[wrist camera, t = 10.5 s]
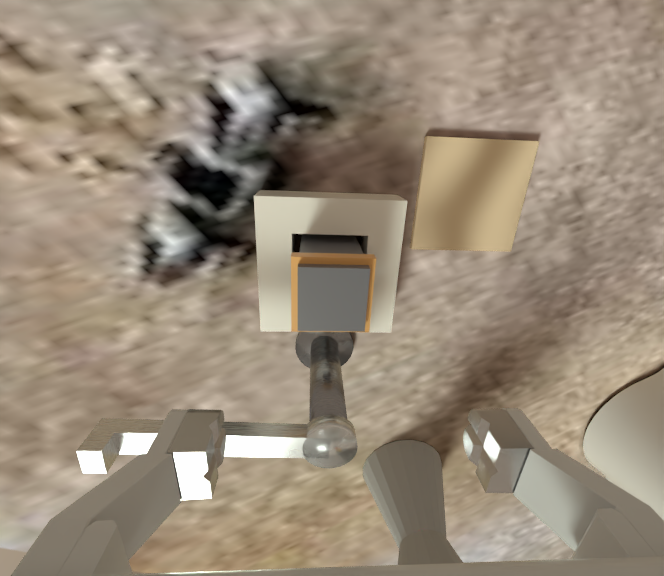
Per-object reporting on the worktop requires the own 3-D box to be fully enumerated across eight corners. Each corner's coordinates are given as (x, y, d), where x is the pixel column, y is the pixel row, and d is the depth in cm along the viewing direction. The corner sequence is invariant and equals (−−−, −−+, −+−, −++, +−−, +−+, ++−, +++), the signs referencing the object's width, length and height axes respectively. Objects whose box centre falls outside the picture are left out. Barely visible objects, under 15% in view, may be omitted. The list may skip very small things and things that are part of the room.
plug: (359, 228, 26) (378, 262, 18) (355, 285, 27) (370, 337, 20) (296, 226, 25) (290, 259, 18) (296, 284, 27) (291, 336, 20)
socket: (396, 194, 25) (407, 200, 22) (383, 314, 29) (390, 332, 26) (260, 189, 24) (253, 195, 21) (265, 312, 28) (260, 331, 25)
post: (354, 319, 29) (372, 397, 20) (350, 367, 31) (365, 458, 22) (295, 318, 28) (287, 398, 19) (295, 366, 30) (288, 459, 21)
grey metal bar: (358, 415, 20) (363, 446, 18) (352, 454, 21) (356, 487, 19) (99, 406, 19) (73, 439, 17) (108, 449, 20) (85, 483, 18)
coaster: (535, 141, 24) (539, 141, 23) (507, 249, 27) (510, 251, 26) (424, 136, 23) (427, 136, 23) (409, 247, 26) (411, 249, 26)
